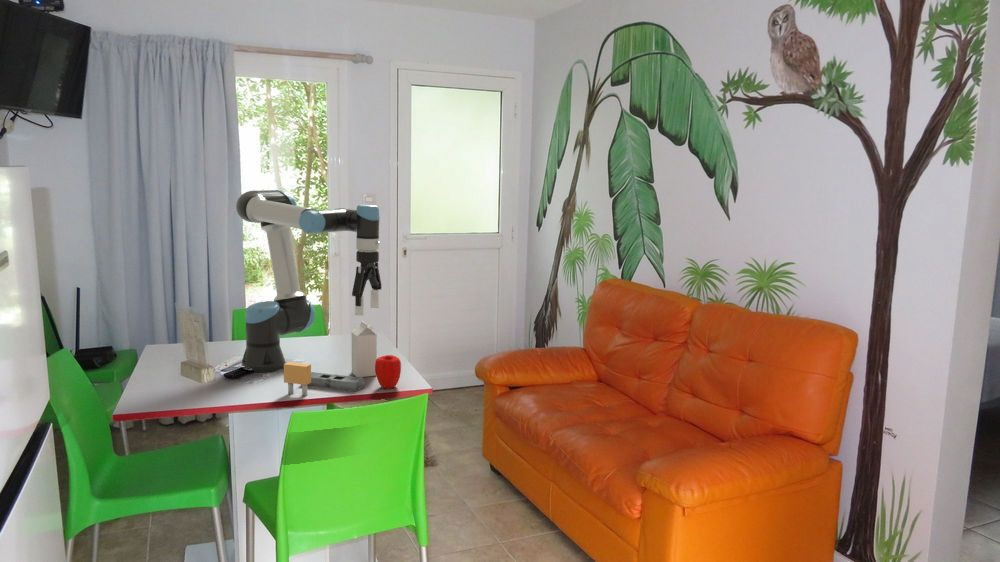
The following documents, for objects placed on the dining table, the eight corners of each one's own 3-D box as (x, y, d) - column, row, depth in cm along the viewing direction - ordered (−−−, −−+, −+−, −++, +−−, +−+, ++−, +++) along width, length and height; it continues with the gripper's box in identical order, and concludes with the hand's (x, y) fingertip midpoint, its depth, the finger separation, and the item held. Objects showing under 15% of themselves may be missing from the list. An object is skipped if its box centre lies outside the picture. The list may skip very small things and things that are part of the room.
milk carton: (357, 378, 249) (357, 325, 247) (351, 372, 256) (351, 321, 253) (376, 375, 253) (376, 323, 250) (370, 370, 259) (370, 319, 256)
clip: (284, 394, 229) (283, 364, 228) (289, 391, 232) (288, 361, 231) (306, 396, 227) (306, 366, 226) (311, 394, 230) (310, 364, 229)
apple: (377, 382, 245) (377, 352, 243) (402, 383, 244) (403, 353, 243) (372, 390, 236) (372, 358, 234) (398, 391, 236) (398, 359, 234)
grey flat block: (301, 385, 239) (301, 376, 239) (310, 380, 245) (310, 371, 245) (355, 391, 235) (355, 382, 234) (363, 386, 240) (363, 377, 240)
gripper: (363, 255, 230) (363, 319, 233) (391, 247, 254) (390, 305, 257) (341, 253, 231) (341, 317, 234) (371, 246, 255) (370, 304, 259)
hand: (367, 311), depth 246 cm, fingers open, 13 cm apart
